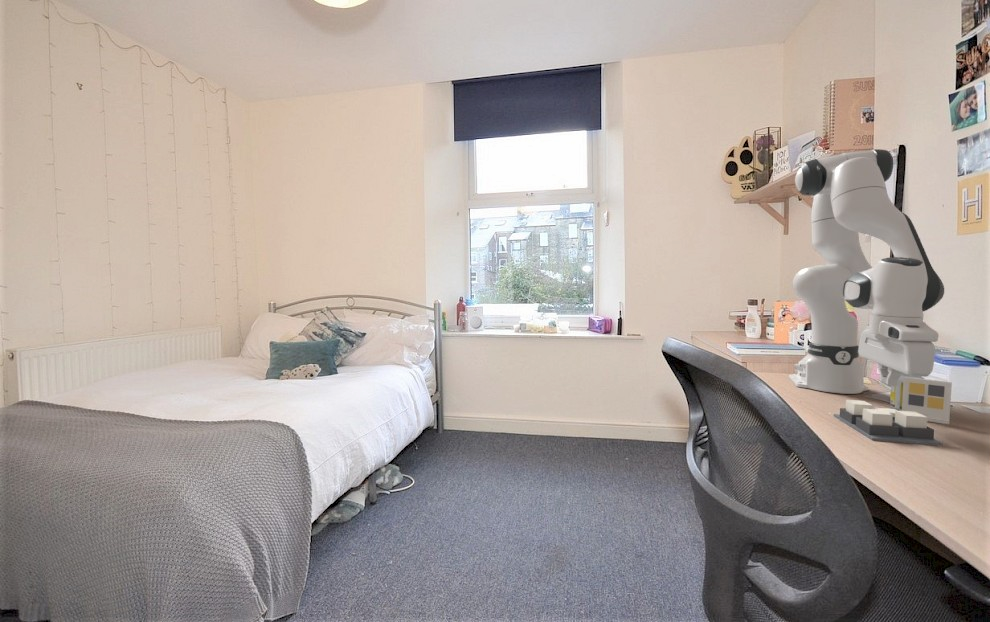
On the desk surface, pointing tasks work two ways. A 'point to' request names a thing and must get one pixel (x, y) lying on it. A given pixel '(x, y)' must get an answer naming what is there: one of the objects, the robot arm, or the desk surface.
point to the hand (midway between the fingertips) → (888, 384)
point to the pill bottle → (899, 392)
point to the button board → (888, 430)
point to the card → (927, 398)
